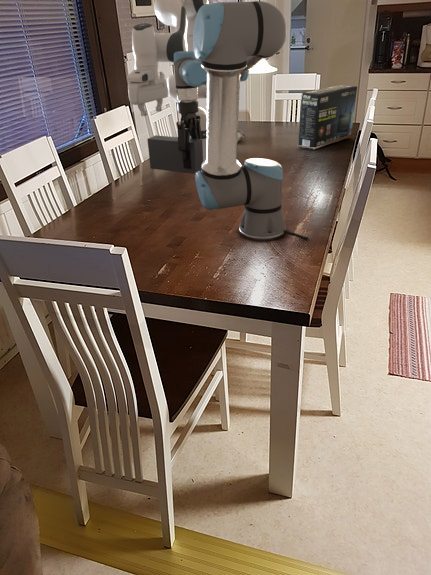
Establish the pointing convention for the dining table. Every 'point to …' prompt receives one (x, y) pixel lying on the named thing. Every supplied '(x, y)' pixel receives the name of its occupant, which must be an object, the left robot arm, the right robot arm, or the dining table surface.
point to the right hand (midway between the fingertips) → (191, 165)
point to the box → (174, 154)
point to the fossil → (240, 135)
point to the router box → (326, 115)
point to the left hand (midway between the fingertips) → (151, 113)
